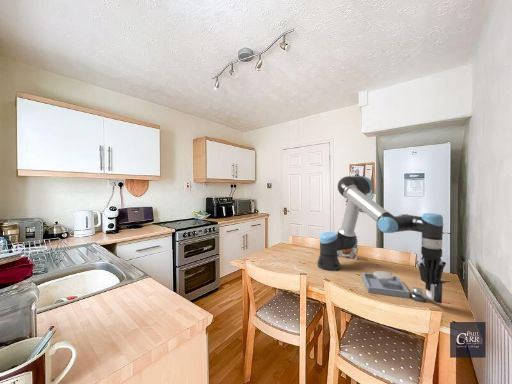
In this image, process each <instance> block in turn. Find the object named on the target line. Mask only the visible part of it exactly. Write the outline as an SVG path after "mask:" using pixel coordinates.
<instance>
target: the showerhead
mask: <svg viewBox="0 0 512 384" xmlns="http://www.w3.org/2000/svg"><path fill="white" fill-rule="evenodd" d="M373 274H374V277H375V278H377V279H378V282H379V283H381V286H385V284H387V283H388V281H391V280H393V276H394V275H393V273H392V272H386V271H384V270H383V271H381V270H376V271H374V272H373Z"/></svg>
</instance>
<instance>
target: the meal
mask: <svg viewBox="0 0 512 384" xmlns="http://www.w3.org/2000/svg"><path fill="white" fill-rule="evenodd" d="M358 252H359V251H358V244H357V245H356V247H355V248H353V249H349V250H340V251H337V257H338V258H340V257H341V258H349V259H351V260H353V259H354V260H356V261H357V260H358Z"/></svg>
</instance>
